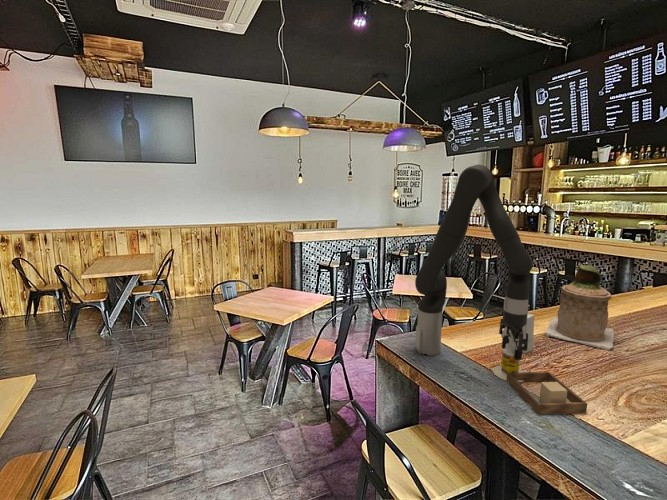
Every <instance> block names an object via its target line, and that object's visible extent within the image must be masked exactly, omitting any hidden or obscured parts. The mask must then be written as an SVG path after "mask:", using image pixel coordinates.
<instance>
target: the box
mask: <svg viewBox="0 0 667 500" xmlns="http://www.w3.org/2000/svg"><path fill="white" fill-rule="evenodd" d="M538 398H539V399H538V400H539V402H540V403H567V390H566V389H565V388H564V387H562V386H561V385H560V384H559V383H558V382H548V381H540V389H539V397H538Z"/></svg>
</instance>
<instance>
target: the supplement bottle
mask: <svg viewBox="0 0 667 500" xmlns="http://www.w3.org/2000/svg"><path fill="white" fill-rule="evenodd" d="M514 353H515V345H514V344H512V343H507V344H506V347H505V348H504V349H503V348H502V355H501V364H500V365H501V371H502V372H503V373H504V374H506V375H507V373H518V371H519V369H520V361H521V360H515V359H514Z"/></svg>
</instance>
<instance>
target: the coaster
mask: <svg viewBox="0 0 667 500" xmlns="http://www.w3.org/2000/svg"><path fill="white" fill-rule="evenodd" d="M521 372H525V371H524V370H522V369H520V368H519V371H518V373H521ZM492 373H494V374H493V375H494V376H495V375H496V376H497V377H496V376H495V377H496V378H498V377H499V378H501V379H504V380H506V381H505V382H507V375H506V374H504V373H503V372H502V371H501V364H500V365H496V366H495V367H493V368H492ZM499 378H498V379H499ZM501 379H500V380H501ZM504 380H503V381H504ZM517 381H518V382H519V383H520V384H521V383H525V382H524V380H517Z"/></svg>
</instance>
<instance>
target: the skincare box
mask: <svg viewBox="0 0 667 500" xmlns="http://www.w3.org/2000/svg"><path fill="white" fill-rule="evenodd" d="M534 328H535V314H532V313H531V314H530V313H528V315H527V324H526V325H525V326H523V327H522V330H523V333H528V346H527V351H522V354H527V353H529V352H532V351H533V349H534V336H535V335H534V331H535V330H534ZM515 340H519V339H515ZM509 343H512V339H511V338H510V337H509ZM512 344H514V343H512ZM517 345H518V343H517ZM523 346H524V344H523Z"/></svg>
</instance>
